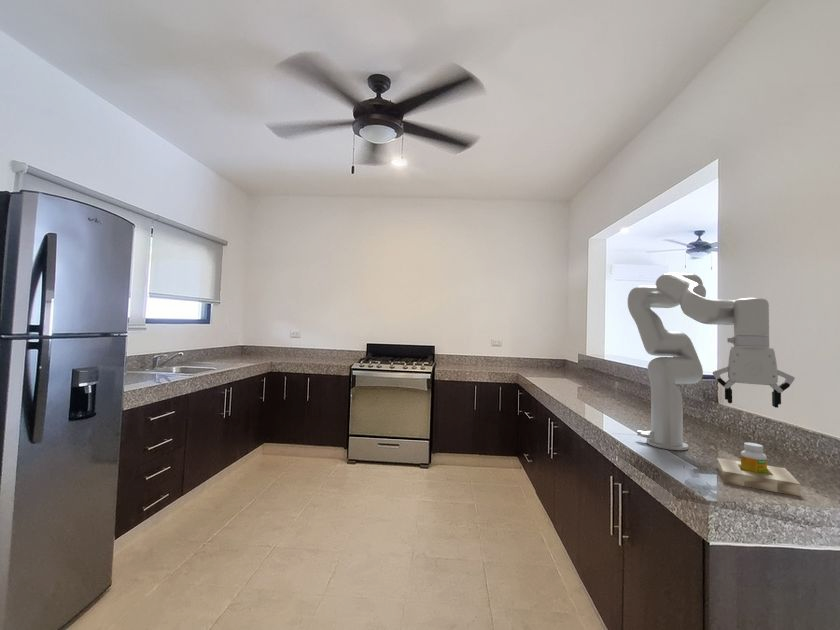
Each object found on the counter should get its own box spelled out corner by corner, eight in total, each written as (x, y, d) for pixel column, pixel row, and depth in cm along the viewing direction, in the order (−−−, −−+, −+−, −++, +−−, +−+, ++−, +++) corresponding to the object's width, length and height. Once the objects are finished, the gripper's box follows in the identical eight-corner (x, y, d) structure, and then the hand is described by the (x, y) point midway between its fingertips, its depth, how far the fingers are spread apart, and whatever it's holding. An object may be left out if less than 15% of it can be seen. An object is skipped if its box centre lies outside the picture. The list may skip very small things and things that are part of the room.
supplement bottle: (760, 485, 102) (759, 448, 102) (736, 478, 107) (736, 442, 107) (771, 482, 104) (770, 446, 104) (748, 476, 109) (747, 440, 109)
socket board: (723, 482, 103) (723, 471, 103) (717, 468, 115) (717, 457, 115) (800, 496, 95) (800, 483, 95) (785, 479, 107) (785, 468, 107)
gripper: (713, 341, 109) (714, 402, 108) (797, 344, 100) (798, 411, 99) (711, 341, 115) (711, 399, 115) (789, 343, 106) (790, 406, 105)
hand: (752, 404), depth 107 cm, fingers open, 9 cm apart
